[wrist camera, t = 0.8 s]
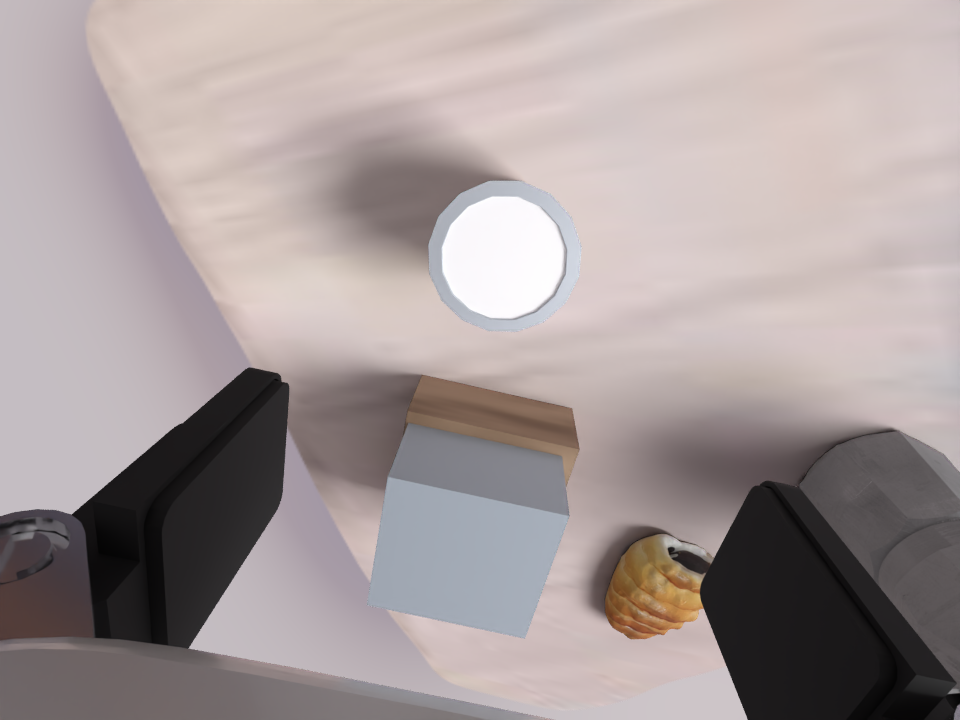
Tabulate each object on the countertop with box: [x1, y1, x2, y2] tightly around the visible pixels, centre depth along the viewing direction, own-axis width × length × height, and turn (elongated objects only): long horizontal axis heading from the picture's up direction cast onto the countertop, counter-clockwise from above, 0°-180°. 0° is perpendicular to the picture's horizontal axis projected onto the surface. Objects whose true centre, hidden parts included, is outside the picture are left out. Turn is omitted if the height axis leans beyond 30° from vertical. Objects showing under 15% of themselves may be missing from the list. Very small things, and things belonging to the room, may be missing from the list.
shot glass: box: [428, 181, 582, 332], centre depth 26 cm, size 7×7×7 cm
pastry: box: [605, 534, 714, 639], centre depth 38 cm, size 9×7×4 cm
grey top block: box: [367, 423, 569, 638], centre depth 29 cm, size 9×9×5 cm
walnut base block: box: [403, 375, 579, 486], centre depth 33 cm, size 10×10×5 cm
